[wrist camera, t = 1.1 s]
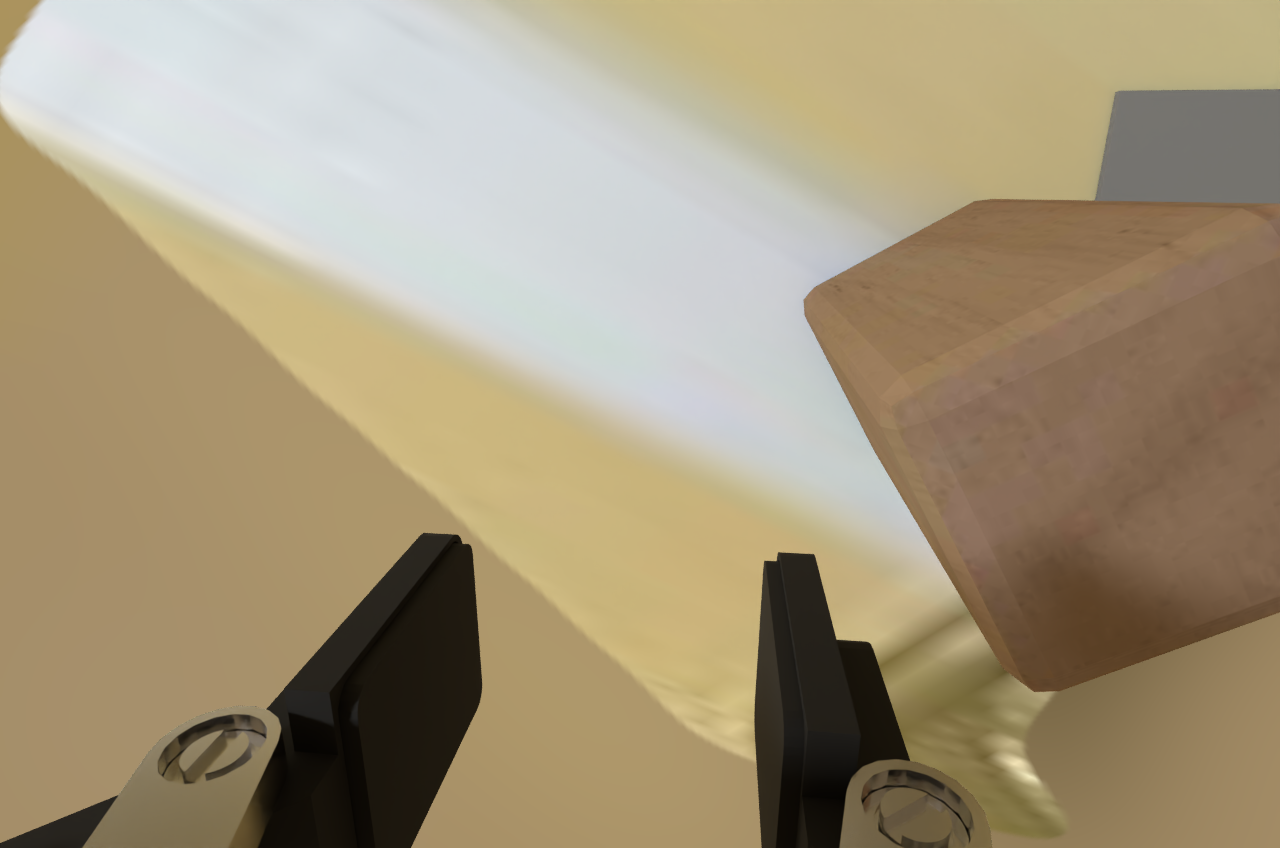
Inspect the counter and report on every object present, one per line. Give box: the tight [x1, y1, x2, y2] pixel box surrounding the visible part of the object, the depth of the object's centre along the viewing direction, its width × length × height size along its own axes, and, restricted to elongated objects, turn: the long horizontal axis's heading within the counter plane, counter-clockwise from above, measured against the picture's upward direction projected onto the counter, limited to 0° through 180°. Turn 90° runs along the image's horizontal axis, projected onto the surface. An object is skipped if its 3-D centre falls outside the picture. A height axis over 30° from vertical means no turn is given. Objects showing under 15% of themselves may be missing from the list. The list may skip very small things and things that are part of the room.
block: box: [804, 199, 1280, 692], centre depth 27 cm, size 10×10×20 cm
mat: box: [1095, 89, 1280, 204], centre depth 34 cm, size 22×16×1 cm
